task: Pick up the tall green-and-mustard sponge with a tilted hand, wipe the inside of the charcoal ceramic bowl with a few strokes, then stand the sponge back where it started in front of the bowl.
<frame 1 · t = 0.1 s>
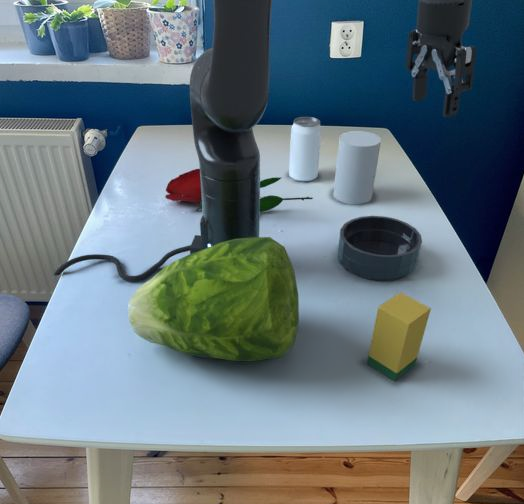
hand: (433, 107, 89), 22 cm above the table, tool pointing down, fingers open, 8 cm apart
flower: (238, 210, 109), on the table
can: (303, 177, 121), on the table
lettuce: (216, 345, 78), on the table
bowl: (376, 260, 95), on the table
light grey cylinder: (352, 196, 114), on the table
sponge: (391, 364, 75), on the table
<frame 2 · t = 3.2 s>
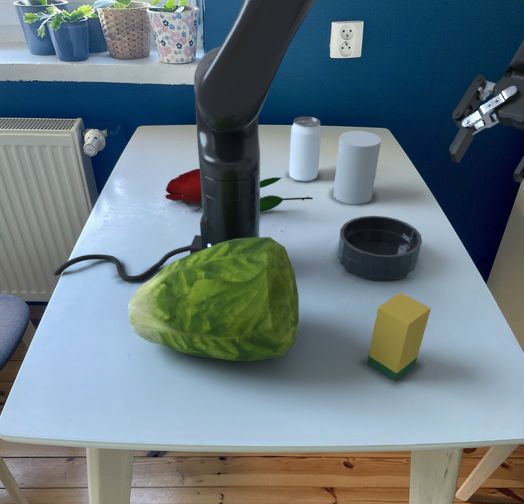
hand: (484, 169, 67), 24 cm above the table, tool tilted 40°, fingers open, 8 cm apart
nothing on the table moved.
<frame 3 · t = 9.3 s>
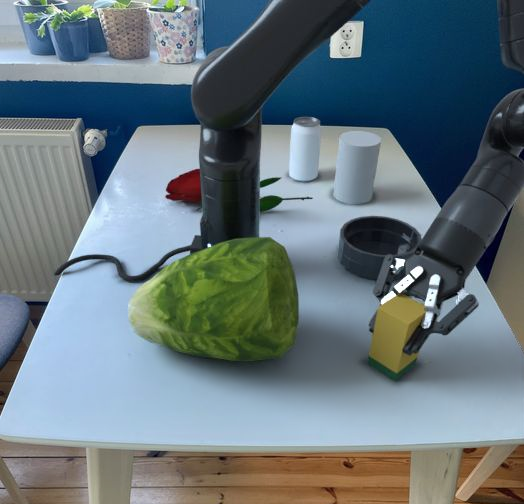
hand: (389, 342, 71), 5 cm above the table, tool tilted 45°, fingers closed on sponge, 4 cm apart
sponge: (391, 364, 75), on the table, touching gripper
everything else where it was.
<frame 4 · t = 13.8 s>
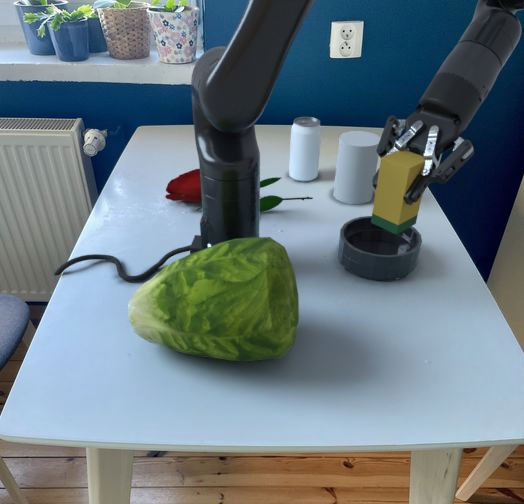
hand: (391, 195, 77), 17 cm above the table, tool tilted 45°, fingers closed on sponge, 4 cm apart
sponge: (393, 223, 81), point 12 cm above the table, touching gripper
everything else where it was.
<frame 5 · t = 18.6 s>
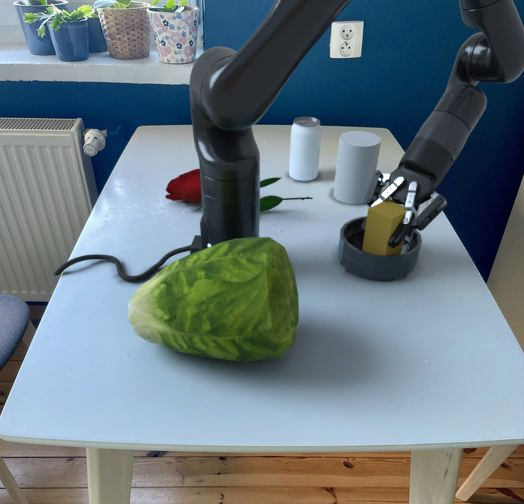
hand: (377, 239, 89), 6 cm above the table, tool tilted 45°, fingers closed on sponge, 4 cm apart
sponge: (379, 261, 94), point 1 cm above the table, touching gripper
everything else where it was.
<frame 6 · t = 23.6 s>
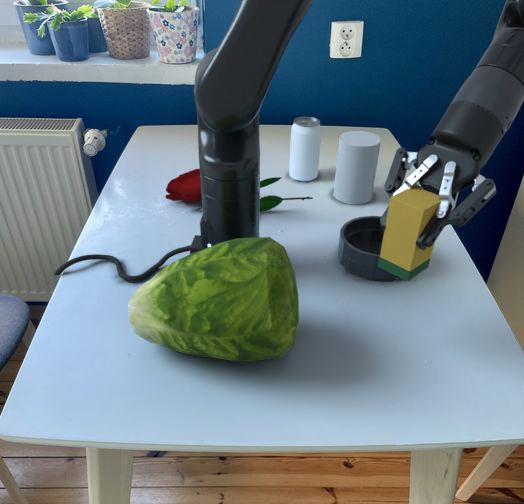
hand: (402, 238, 68), 17 cm above the table, tool tilted 45°, fingers closed on sponge, 4 cm apart
sponge: (403, 267, 72), point 12 cm above the table, touching gripper
everything else where it was.
when the fingers open (5 cm above the table, at t = 28.1 s): sponge stays where it is, on the table.
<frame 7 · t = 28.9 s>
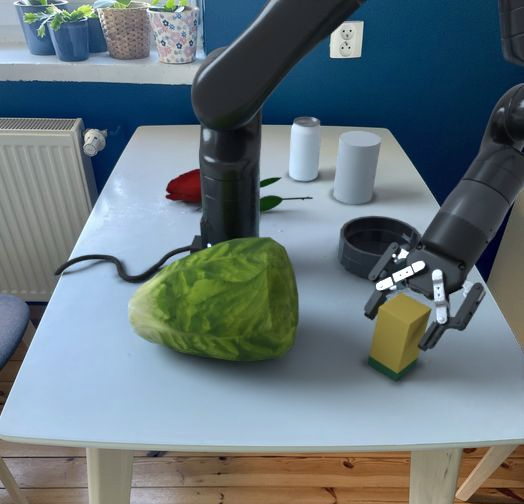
hand: (393, 333, 71), 6 cm above the table, tool tilted 45°, fingers open, 8 cm apart
sponge: (391, 364, 75), on the table
everything else where it was.
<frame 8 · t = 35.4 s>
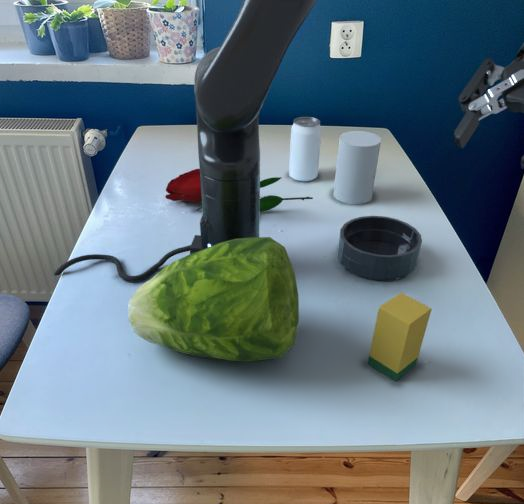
hand: (490, 154, 64), 27 cm above the table, tool tilted 45°, fingers open, 8 cm apart
nothing on the table moved.
at the end: sponge 0.1 cm from the target spot on the table beside the bowl, on the table; sponge tilted 0°; the gripper is holding nothing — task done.
